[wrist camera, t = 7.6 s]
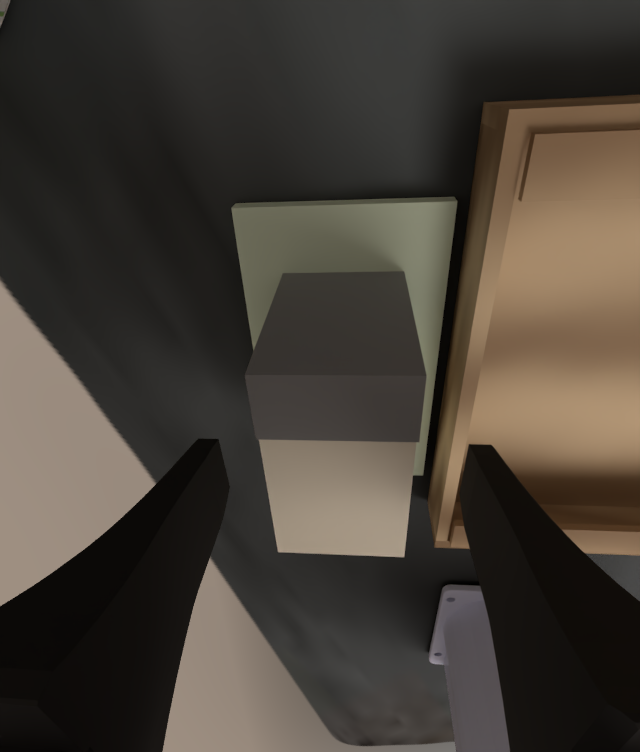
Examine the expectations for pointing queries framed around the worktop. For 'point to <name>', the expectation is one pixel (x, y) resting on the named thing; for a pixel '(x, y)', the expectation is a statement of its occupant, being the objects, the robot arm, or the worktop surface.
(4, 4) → the syrup box
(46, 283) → the worktop surface
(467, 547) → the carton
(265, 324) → the box
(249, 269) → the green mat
